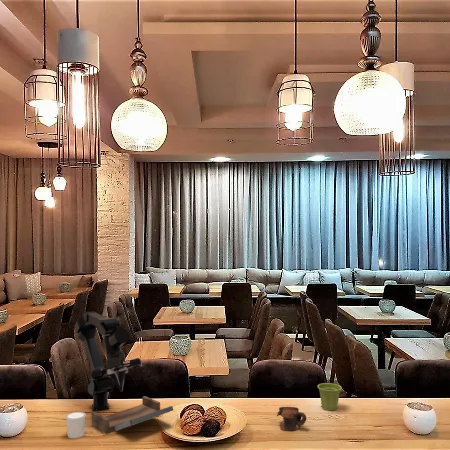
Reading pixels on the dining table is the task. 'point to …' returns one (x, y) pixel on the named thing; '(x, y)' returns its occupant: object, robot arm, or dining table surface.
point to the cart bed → (124, 415)
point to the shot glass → (75, 424)
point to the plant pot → (329, 395)
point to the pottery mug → (291, 418)
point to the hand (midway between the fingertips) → (121, 391)
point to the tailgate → (143, 418)
